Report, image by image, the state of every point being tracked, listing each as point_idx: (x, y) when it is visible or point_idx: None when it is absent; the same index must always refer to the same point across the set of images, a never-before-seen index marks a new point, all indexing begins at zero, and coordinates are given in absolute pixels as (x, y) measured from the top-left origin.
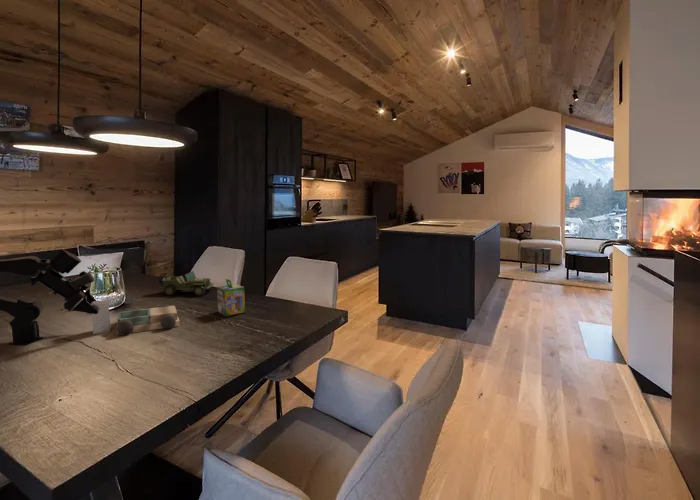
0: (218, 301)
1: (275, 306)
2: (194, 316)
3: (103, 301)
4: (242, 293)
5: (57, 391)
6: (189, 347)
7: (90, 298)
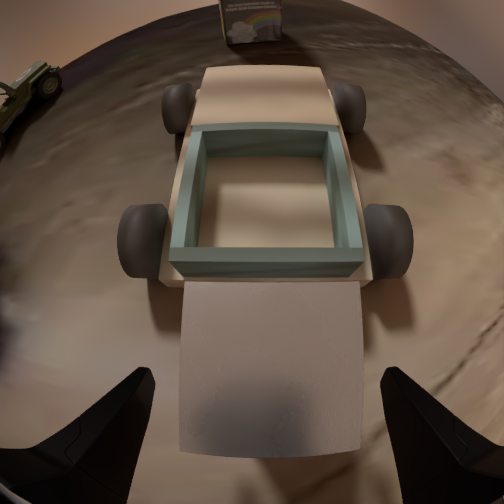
0: (233, 18)
1: None
2: None
3: (250, 334)
4: None
5: None
6: (478, 134)
7: (99, 457)
